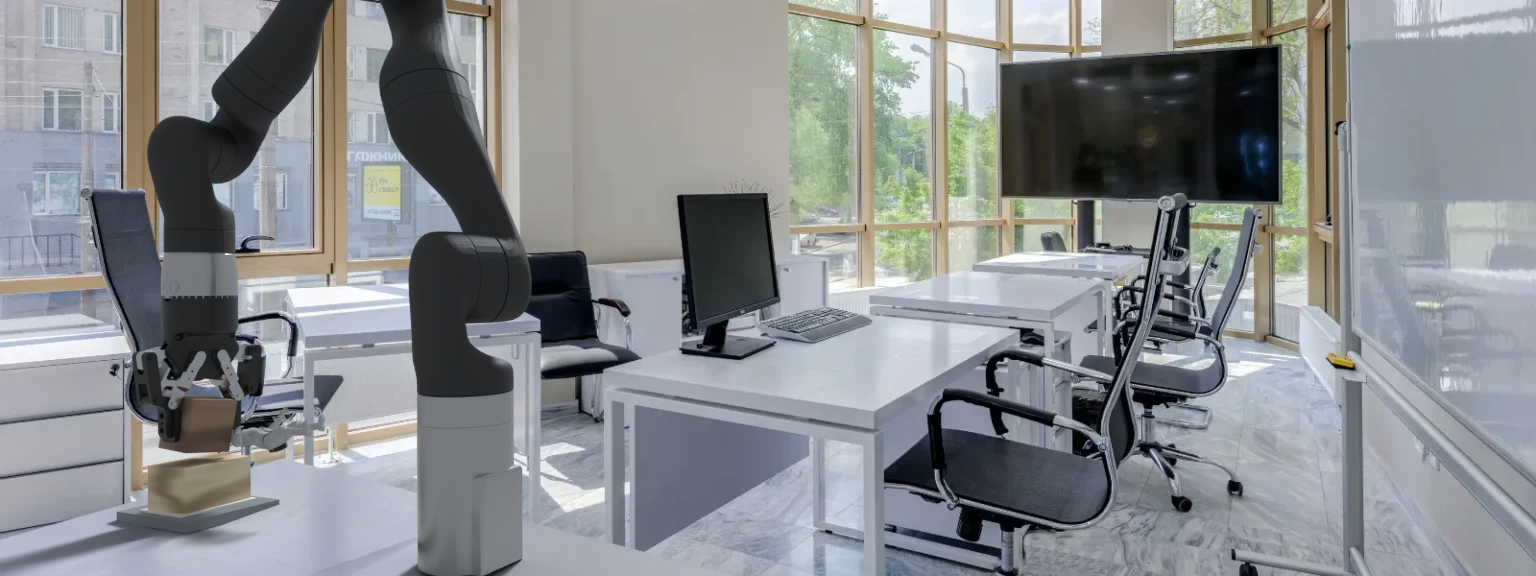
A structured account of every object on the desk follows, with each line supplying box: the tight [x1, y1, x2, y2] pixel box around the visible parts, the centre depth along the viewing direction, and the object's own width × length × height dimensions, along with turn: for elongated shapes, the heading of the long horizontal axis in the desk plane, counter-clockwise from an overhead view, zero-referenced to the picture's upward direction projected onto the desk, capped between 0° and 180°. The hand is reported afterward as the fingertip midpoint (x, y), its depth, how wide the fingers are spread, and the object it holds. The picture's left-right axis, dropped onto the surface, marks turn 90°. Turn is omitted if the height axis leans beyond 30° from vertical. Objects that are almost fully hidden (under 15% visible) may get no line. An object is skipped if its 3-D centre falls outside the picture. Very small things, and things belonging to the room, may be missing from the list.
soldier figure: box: [230, 407, 326, 451], centre depth 102 cm, size 8×5×12 cm
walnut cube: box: [157, 394, 237, 454], centre depth 101 cm, size 5×5×6 cm
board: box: [116, 495, 280, 535], centre depth 102 cm, size 12×11×1 cm
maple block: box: [147, 452, 252, 514], centre depth 102 cm, size 6×8×5 cm
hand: (200, 436), depth 102 cm, fingers open, 6 cm apart
